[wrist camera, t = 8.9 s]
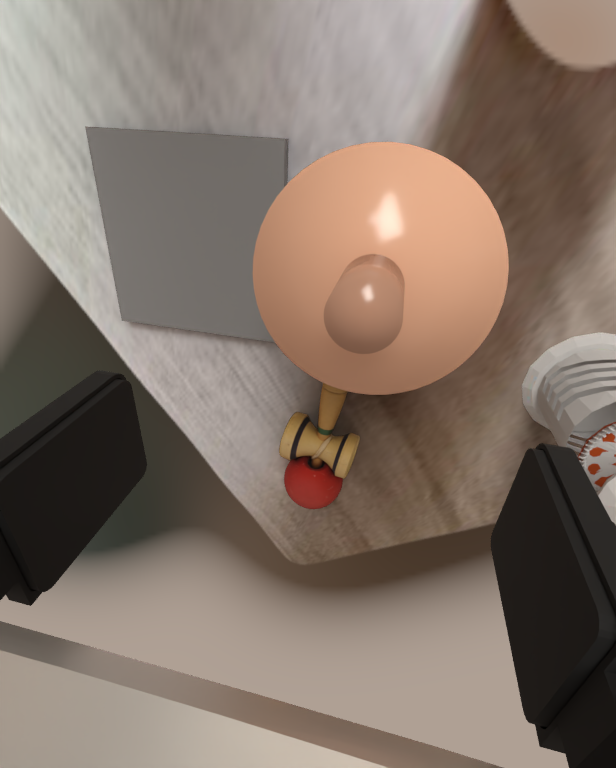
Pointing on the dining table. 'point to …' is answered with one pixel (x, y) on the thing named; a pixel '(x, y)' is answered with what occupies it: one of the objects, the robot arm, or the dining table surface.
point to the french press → (580, 404)
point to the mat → (186, 224)
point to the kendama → (317, 453)
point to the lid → (380, 268)
